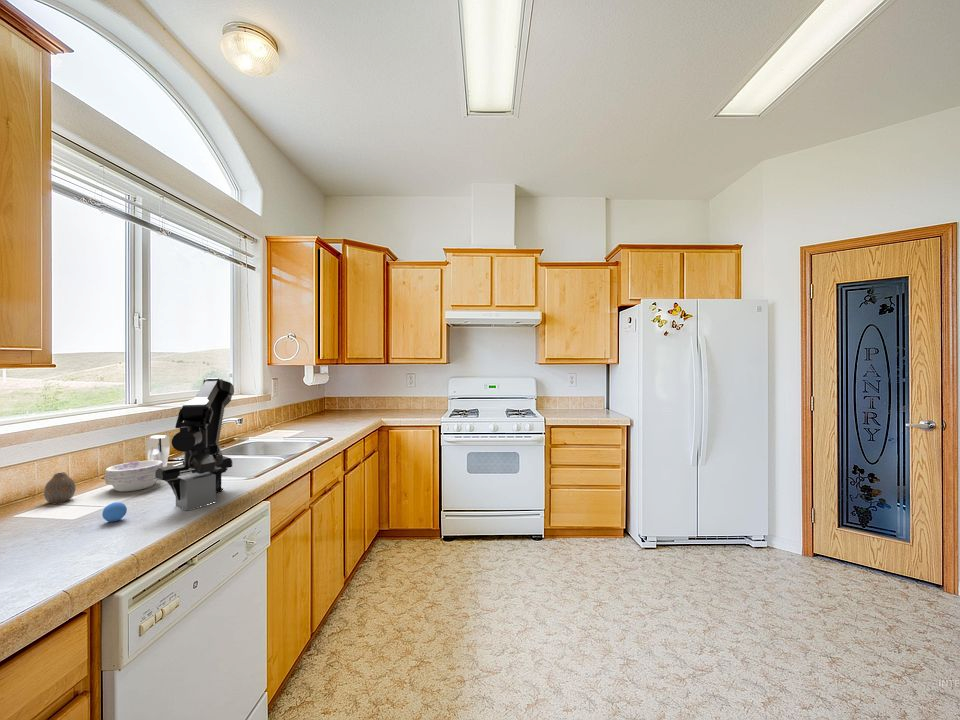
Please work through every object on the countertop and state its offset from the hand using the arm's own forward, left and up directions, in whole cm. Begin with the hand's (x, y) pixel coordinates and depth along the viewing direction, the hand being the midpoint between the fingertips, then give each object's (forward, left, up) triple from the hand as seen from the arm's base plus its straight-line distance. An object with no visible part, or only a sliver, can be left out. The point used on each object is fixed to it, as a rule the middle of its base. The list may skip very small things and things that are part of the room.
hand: (195, 495), depth 125 cm
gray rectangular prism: (0, 0, -3) cm, 3 cm away
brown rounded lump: (+22, -38, -3) cm, 44 cm away
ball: (+18, -4, 0) cm, 18 cm away
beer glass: (-6, -46, -3) cm, 46 cm away
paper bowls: (+4, -36, -3) cm, 36 cm away
